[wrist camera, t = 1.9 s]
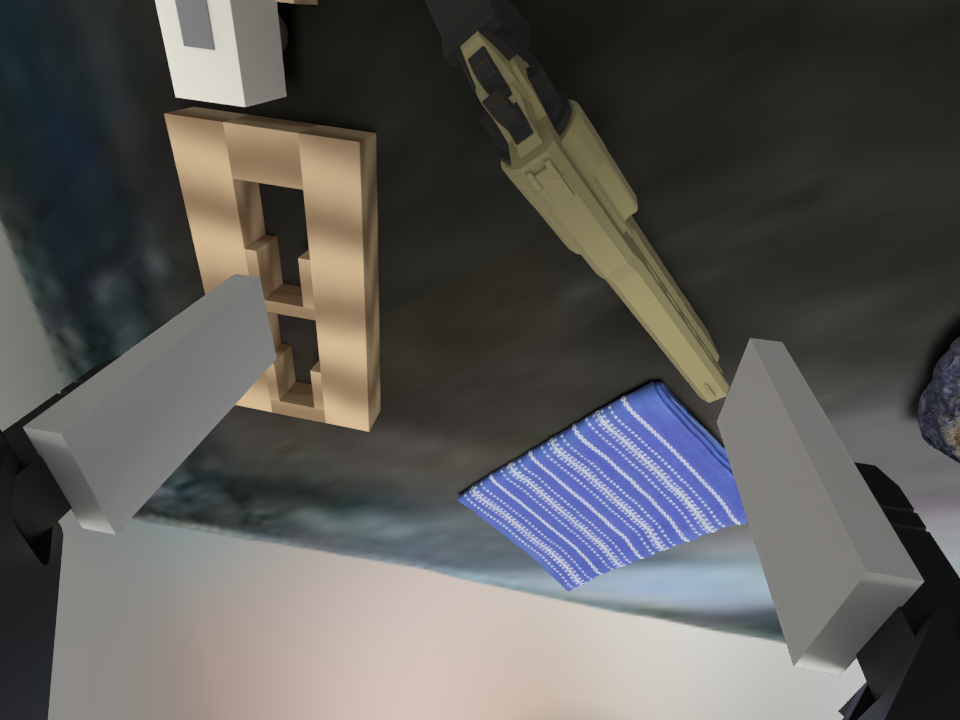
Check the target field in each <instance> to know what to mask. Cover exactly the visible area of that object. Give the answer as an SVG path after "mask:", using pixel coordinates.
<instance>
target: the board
mask: <svg viewBox="0 0 960 720" xmlns="http://www.w3.org/2000/svg"><path fill="white" fill-rule="evenodd" d="M164 115H165V119H166V124H167V128H168V132H169V137H170V141H171V146H172V150H173V154H174V159H175V163H176V167H177V172H178V176H179V181H180V185H181V189H182V194H183V198H184V203H185V207H186V211H187V216H188V220H189V225H190V229H191V233H192V238H193V242H194V246H195V251H196V255H197V260H198V264H199V268H200V273H201V277H202V282H203V286H204V290H205V295H206V294H208V293H209V292H210V291H212V290H213V289H214V288H216V287H217V286H219V285H220V284H221V283H223V282H224V281H226V280H227V279H228V278H230V277H231V276H232V275H234V274H238V275H247V276H255V277H260V280H261V285H262V290H263V295H264V299H265V304H266V309H267V314H268V319H269V323H270V328H271V333H272V338H273V343H274V348H275V352H276V357H277V359H276V360H275V361H274V363H273V364H272V365H271V366H270V367H269V368H268V369H267V370H266V371H265V372H264V373H263V375H262V376H261V377H260V378H259V379H258V380H257V381H256V382H255V383H254V384H253V385H252V387H251V388H250V389H249V390H248V391H247V392H246V393H245V394H244V395H243V396H242V398H241V399H240V400H239V401H238V402H237V403H236V404H235V405H239V406H244V407H249V408H254V409H259V410H264V411H269V412H274V413H279V414H283V415H288V416H293V417H298V418H303V419H308V420H313V421H318V422H323V423H328V424H333V425H338V426H343V427H348V428H353V429H358V430H363V431H368V432H369V431H370V429H371V427H372V425H373V423H374V421H375V420H376V418H377V416H378V414H379V412H380V346H379V282H378V217H377V152H376V133H372V132H365V131H358V130H351V129H344V128H337V127H330V126H324V125H317V124H310V123H303V122H296V121H289V120H282V119H275V118H268V117H261V116H254V115H248V114H241V113H234V112H227V111H220V110H213V109H206V108H199V107H190V108H186V109H182V110H177V111H173V112H169V113H164ZM259 183H264V184H270V185H276V186H283V187H289V188H295V189H302V190H303V192H304V202H305V213H306V223H307V234H308V244H309V249H308V250H307V251H306V252H305V253H304V254H302V255H301V256H300V257H299V258H298V262H299V271H300V280H301V286H295V285H290V284H284V283H283V280H282V272H281V264H280V257H279V249H278V242H277V236H272V235H266V232H265V225H264V218H263V211H262V204H261V197H260V190H259ZM277 313H278V314H283V315H289V316H294V317H300V318H305V319H311V320H316V328H317V338H318V349H319V361H318V362H317V363H316V364H315V366H314V367H313V368H312V369H311V371H310V372H311V381H312V384H307V383H302V382H297V381H296V379H295V371H294V364H293V356H292V348H291V345H288V344H283V343H281V337H280V330H279V323H278V316H277Z"/></svg>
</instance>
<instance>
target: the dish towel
mask: <svg viewBox="0 0 960 720" xmlns="http://www.w3.org/2000/svg"><path fill="white" fill-rule="evenodd" d="M458 501H459V502H460V503H462V504H463V505H465V506H467V507H469V508H470V509H472V510H473V511H474V512H475V513H476V514H477V515H478V516H480V517H481V518H482V519H484V520H485V521H486V522H488V523H489V524H490V525H492V526H493V527H494V528H495V529H497V530H498V531H499V532H501V533H502V534H503V535H504V536H506V537H507V538H508V539H509V540H511V541H512V542H513V543H514V544H515V545H517V546H518V547H520V548H521V549H522V550H524V551H525V552H526V553H527V554H529V555H530V556H531V557H532V558H534V559H535V560H536V561H537V562H538V563H539V564H540V565H541V566H542V567H543V568H544V569H545V570H546V571H547V572H548V573H549V574H550V575H551V576H553V577H554V578H555V579H556V580H557V581H558V582H559V583H560V584H561V585H562V586H563V587H564V588H565V589H566V590H567V591H571V590H572V589H574V588H576V587H578V586H581V585H584V584H586V583H587V582H588V581H590V580H592V579H593V578H594V577H596V576H598V575H602V574H605V573H607V572H608V571H610V570H613V569H616V568H619V567H623V566H626V565H628V564H630V563H633V562H635V561H637V560H639V559H644V558H646V557H650V556H652V555H654V554H656V553H657V552H659V551H665V550H667V549H670V548H672V547H674V546H677V545H679V544H681V543H683V542H689V541H692V540H694V539H696V538H698V537H700V536H703V535H705V534H707V533H712V532H716V531H718V530H720V529H722V528H726V527H728V526H731V525H742V524H744V523H748V520H747V517H746V513H745V510H744V507H743V504H742V501H741V497H740V494H739V491H738V488H737V485H736V482H735V478H734V475H733V472H732V469H731V466H730V463H729V459H728V456H727V453H726V450H725V449H724V448H723V447H722V446H721V445H720V443H719V442H718V441H717V440H716V439H715V438H714V437H713V436H712V435H711V434H710V433H709V432H708V431H707V430H706V429H705V428H704V427H703V426H702V425H701V424H700V423H699V422H698V421H697V420H696V418H695V417H694V416H693V415H692V414H691V413H690V412H689V411H688V410H687V409H686V408H685V407H684V406H683V405H682V404H681V403H680V402H679V400H678V399H677V398H676V397H675V396H674V395H673V394H672V393H671V392H670V391H669V389H668V388H667V387H666V386H665V384H664V383H661V382H654V381H653V382H651V383H649V384H647V385H645V386H643V387H641V388H640V389H638V390H636V391H634V392H632V393H630V394H628V395H624V396H623V397H621V398H619V399H618V400H616V401H614V402H612V403H609V404H608V405H607V406H605V407H602V408H601V409H599V410H597V411H595V412H594V413H592V414H591V415H588V416H586V417H585V418H584V419H582V420H581V421H579V422H577V423H575V424H573V425H572V426H571V427H570V428H568V429H567V430H565V431H562V432H561V433H559V434H557V435H555V436H553V437H552V438H550V439H548V440H547V441H546V442H544V443H542V444H541V445H540V446H538V447H536V448H534V449H531V450H529V451H528V452H527V453H526V454H524V455H522V456H520V457H519V458H517V459H514V460H513V461H511V462H509V463H508V464H507V465H505V466H502V467H501V468H500V469H498V470H497V471H495V472H492V473H490V474H489V476H487V477H486V478H484V479H482V480H481V481H479V482H478V483H476V484H474V485H473V486H472V487H470V488H469V489H468V490H467V491H465V492H464V493H463V494H461V495H460V496H459V497H458Z"/></svg>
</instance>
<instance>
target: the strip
mask: <svg viewBox="0 0 960 720" xmlns="http://www.w3.org/2000/svg"><path fill="white" fill-rule="evenodd" d="M155 3H156V7H157V12H158V17H159V22H160V26H161V31H162V36H163V40H164V45H165V50H166V54H167V59H168V64H169V69H170V73H171V78H172V83H173V87H174V92H175V97H177V98H184V99H191V100H198V101H205V102H212V103H219V104H226V105H233V106H240V107H248V106H252V105H256V104H260V103H264V102H267V101H271V100H275V99H279V98H283V97H286V96H287V95H286V86H285V76H284V66H283V57H282V52H283V51H284V50H285V49H286V47H287V45H288V38H289V37H288V30H287V27H286V24H285V22H284V21H283V19H282V18H281V17H280V16H279V15H278V8H277V0H155Z"/></svg>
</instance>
